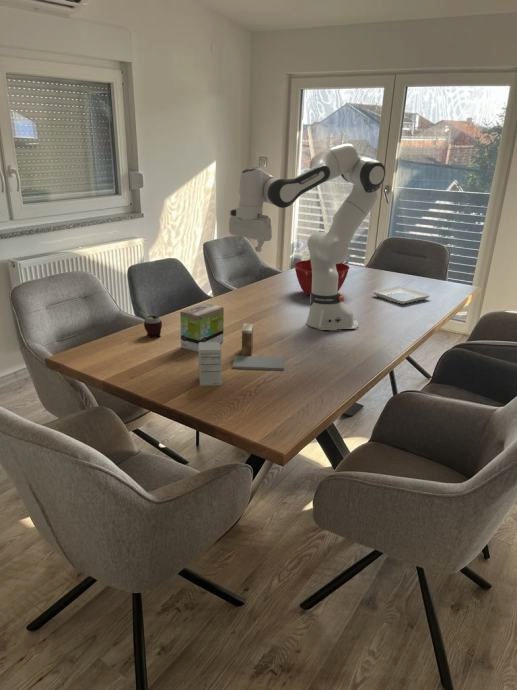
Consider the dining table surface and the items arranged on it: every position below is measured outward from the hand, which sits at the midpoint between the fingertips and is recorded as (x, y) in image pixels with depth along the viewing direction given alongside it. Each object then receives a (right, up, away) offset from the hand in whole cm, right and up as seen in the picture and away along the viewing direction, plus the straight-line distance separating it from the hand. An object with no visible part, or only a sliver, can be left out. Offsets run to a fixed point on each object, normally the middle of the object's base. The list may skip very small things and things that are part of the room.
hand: (249, 249), depth 204 cm
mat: (+4, -43, -14) cm, 46 cm away
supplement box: (-12, -49, -28) cm, 58 cm away
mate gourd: (-39, -33, +12) cm, 52 cm away
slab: (-1, -39, -3) cm, 40 cm away
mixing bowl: (+36, -11, +73) cm, 82 cm away
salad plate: (+76, -13, +68) cm, 103 cm away
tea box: (-18, -37, +3) cm, 41 cm away
